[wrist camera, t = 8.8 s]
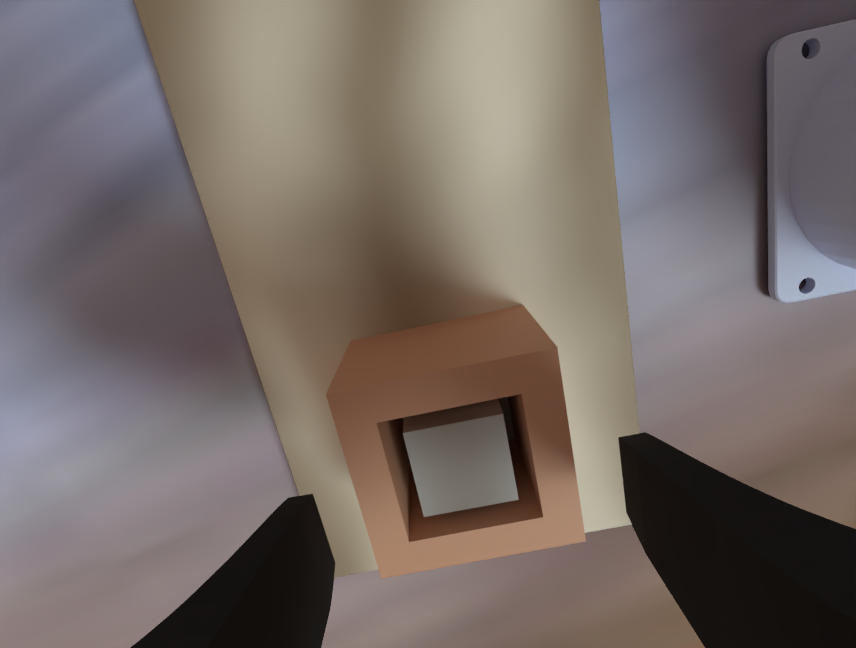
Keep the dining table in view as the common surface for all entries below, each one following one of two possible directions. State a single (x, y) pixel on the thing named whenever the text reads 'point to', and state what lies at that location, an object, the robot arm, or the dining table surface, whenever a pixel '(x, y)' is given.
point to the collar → (447, 388)
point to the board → (409, 216)
